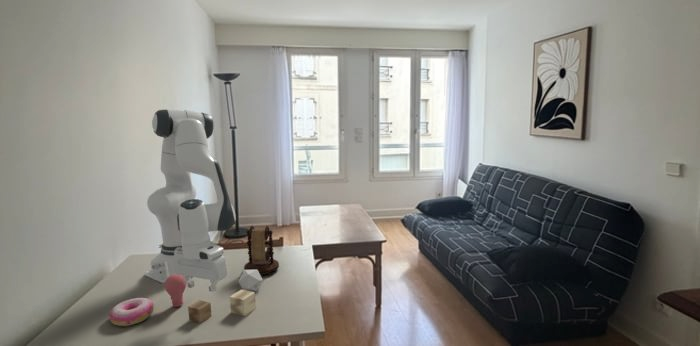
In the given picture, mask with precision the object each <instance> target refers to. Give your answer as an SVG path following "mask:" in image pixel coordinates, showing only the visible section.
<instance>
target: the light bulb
mask: <svg viewBox="0 0 700 346" xmlns="http://www.w3.org/2000/svg"><path fill="white" fill-rule="evenodd" d="M186 287H187V283H186V281H185V280H184V278H183V276H182V275H178V274H173V275H171V276H169V277H168V278H167V279H166V281H165V283H164V289H165V291H166V293H168V294H167V295H169V296H170V300H171V304H172V306H173V307H175V308H177V307H180V306H182V305H183V304H184V298H183V297H184V292H185V290H186Z"/></svg>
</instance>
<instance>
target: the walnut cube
mask: <svg viewBox="0 0 700 346" xmlns="http://www.w3.org/2000/svg"><path fill="white" fill-rule="evenodd" d="M211 304H212V303H211V302H210V301H204V300H200V299H199V300H196V301H195V302H194V303H192V304H190V305H188V306H187V311H188V319H189V320H188V321H190V322H193V323H197V324H202V323H204V322H205V321H207V320H208V319H210V318H211V317H212V306H211Z"/></svg>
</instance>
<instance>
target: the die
mask: <svg viewBox="0 0 700 346" xmlns="http://www.w3.org/2000/svg"><path fill="white" fill-rule="evenodd" d="M262 282H263V278H262V275H261V274H259V272H258V270H244V269H243V271H242V273H241V276H240V277H239V279H238V284H239V286H240V287H241V289H242V290H246V291H251V292H258V290H259V288H260V286H261V284H262Z"/></svg>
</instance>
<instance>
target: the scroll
mask: <svg viewBox="0 0 700 346" xmlns="http://www.w3.org/2000/svg"><path fill="white" fill-rule="evenodd" d="M246 234H247V235H246V236H247V241H246V244H247V246H248V249H247V250H248V252H247V254H248V262H245V263H244V266H243V271H244V270H258V272H259V274H260V275H263V274H267V275H268V276H270V275H271V273H272V272H275V271H277V269H278V268H279V267H280V262H279V261H278V260H276V259H275V258H274V254H275V252H274V246H273V245H274V240H273V230H270V227H269V226H268V225H266V226H265V227H264V229H255V227H254V225H251V226H250V228H249V229H248V230H246ZM267 240H268V241H267ZM266 246H267V248H266Z"/></svg>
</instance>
